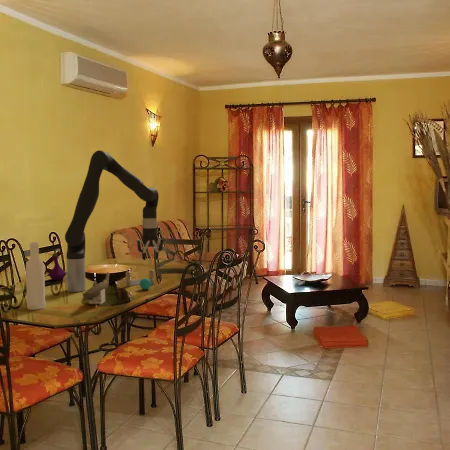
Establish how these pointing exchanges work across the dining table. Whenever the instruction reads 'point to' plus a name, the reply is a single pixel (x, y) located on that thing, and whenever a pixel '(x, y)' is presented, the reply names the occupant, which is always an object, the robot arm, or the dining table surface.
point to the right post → (151, 276)
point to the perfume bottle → (56, 268)
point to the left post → (128, 279)
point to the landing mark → (135, 282)
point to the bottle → (35, 279)
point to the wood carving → (97, 291)
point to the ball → (145, 283)
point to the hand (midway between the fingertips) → (150, 259)
